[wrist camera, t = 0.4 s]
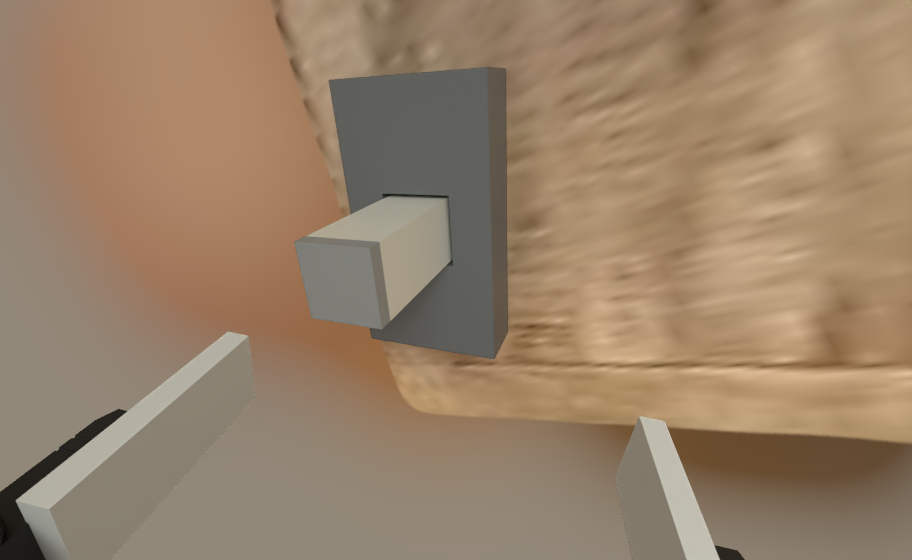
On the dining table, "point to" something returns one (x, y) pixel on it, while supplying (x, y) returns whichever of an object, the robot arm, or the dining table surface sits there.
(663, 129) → the dining table surface
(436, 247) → the plug
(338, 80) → the plate with square hole
